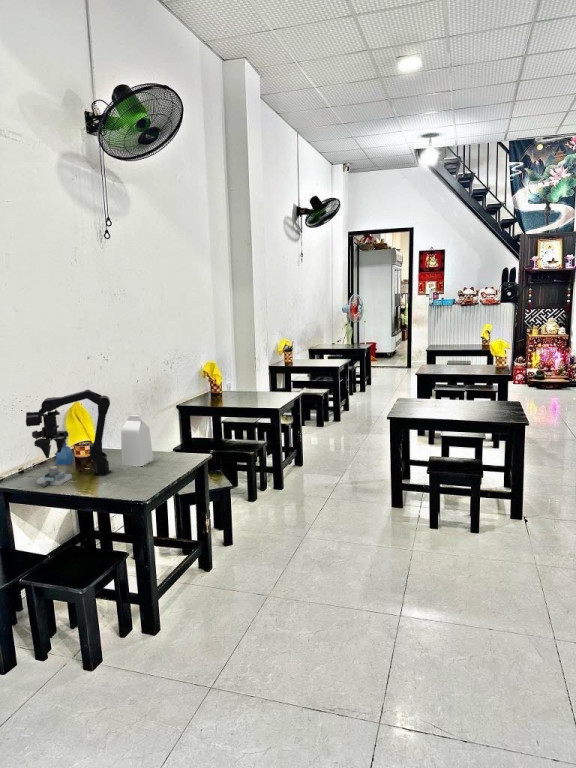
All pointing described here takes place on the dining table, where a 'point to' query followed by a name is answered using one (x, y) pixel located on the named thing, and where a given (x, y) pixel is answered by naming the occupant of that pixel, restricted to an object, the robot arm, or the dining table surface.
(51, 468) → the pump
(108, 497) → the dining table surface
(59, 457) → the perfume bottle
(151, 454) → the milk
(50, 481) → the motor block
